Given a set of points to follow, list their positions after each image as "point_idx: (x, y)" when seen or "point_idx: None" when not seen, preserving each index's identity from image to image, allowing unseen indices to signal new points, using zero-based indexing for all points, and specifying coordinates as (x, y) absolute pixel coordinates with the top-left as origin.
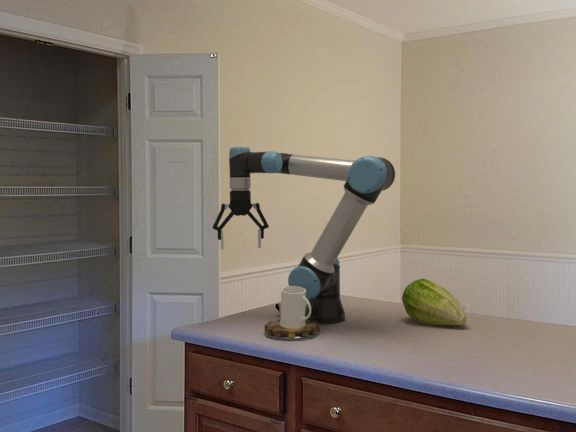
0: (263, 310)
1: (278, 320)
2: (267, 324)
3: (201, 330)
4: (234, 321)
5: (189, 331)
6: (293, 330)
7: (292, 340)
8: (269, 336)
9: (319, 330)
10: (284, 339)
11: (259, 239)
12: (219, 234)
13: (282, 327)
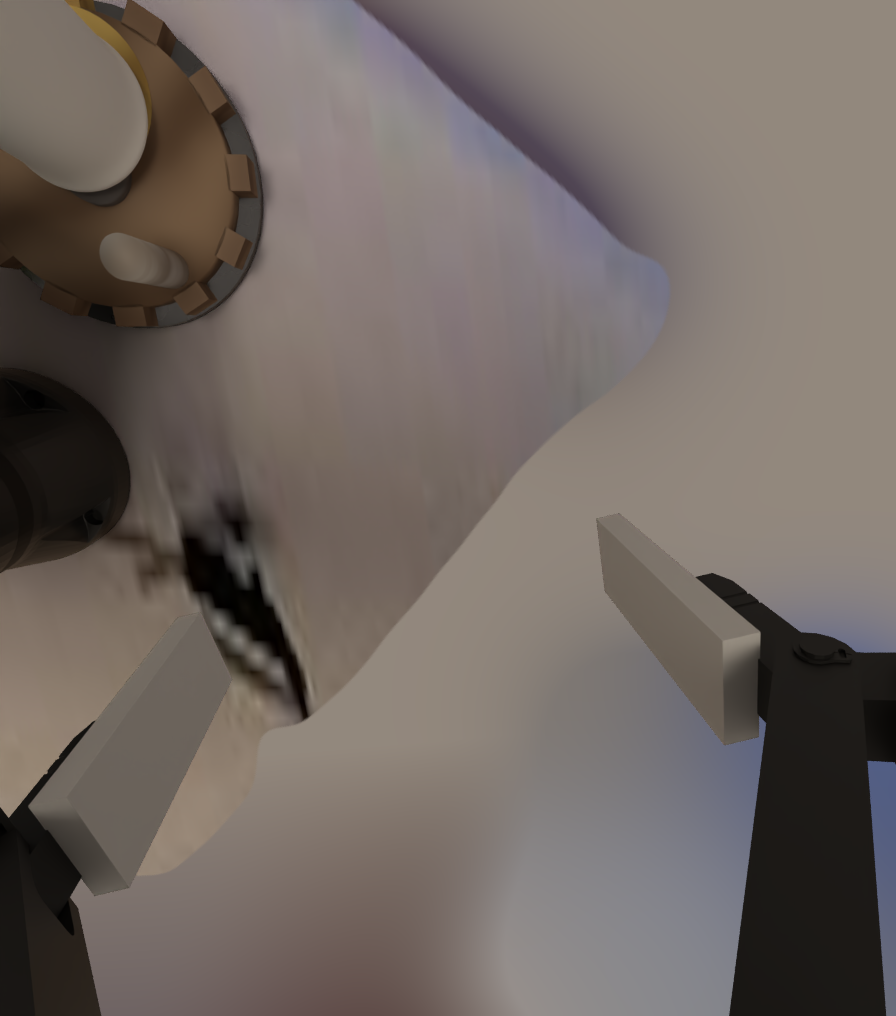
0: (344, 620)
1: (196, 280)
2: (236, 187)
3: (565, 274)
4: (439, 435)
5: (615, 258)
6: None
7: None
8: (215, 79)
9: None
10: (123, 11)
11: (145, 681)
12: (749, 619)
13: None
